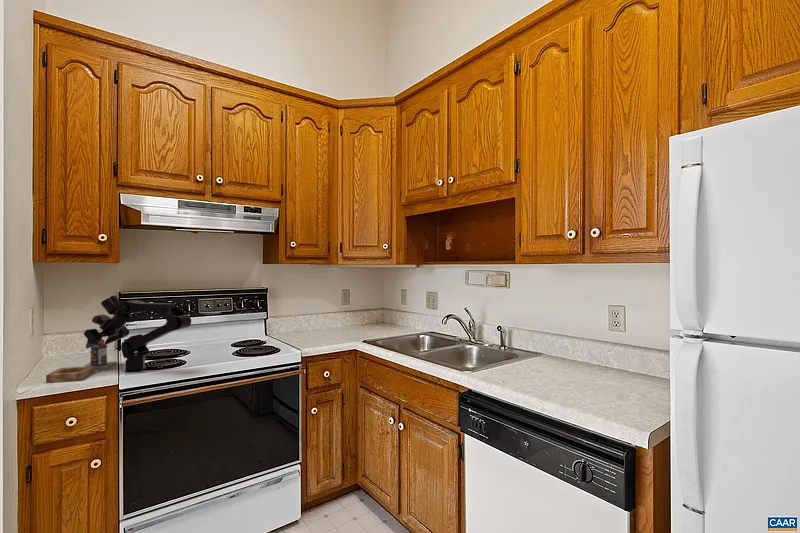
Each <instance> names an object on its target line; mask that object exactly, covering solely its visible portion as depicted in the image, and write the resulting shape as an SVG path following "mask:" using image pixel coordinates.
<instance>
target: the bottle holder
mask: <svg viewBox="0 0 800 533" xmlns="http://www.w3.org/2000/svg"><path fill="white" fill-rule="evenodd" d="M93 373H94V374H95V373H96V371H95V366H86V367H83V366H71V367H60V368H58V369H56V370H54V371H51V372H50V373H47V374H45V383H46V384H48V383H49V384H50V383H52V384H53V383H65V382H66V383H67V382H69V383H70V382H81V381H85V380H86V379H88V378H89V377H91V376H93V375H94V374H93ZM92 374H93V375H92ZM90 375H91V376H90ZM87 377H88V378H87Z"/></svg>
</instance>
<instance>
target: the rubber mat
mask: <svg viewBox="0 0 800 533" xmlns="http://www.w3.org/2000/svg"><path fill="white" fill-rule="evenodd" d="M117 365H118V361H107V364H106V365H103V366H95V370H99V371H109V370H111V369H112V368H113V366H114V367H115V366H117ZM86 366H91V362H89V363H86V364H85V365H83V366H82V367H86ZM110 368H111V369H110ZM108 369H109V370H108Z"/></svg>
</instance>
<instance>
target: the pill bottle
mask: <svg viewBox="0 0 800 533" xmlns="http://www.w3.org/2000/svg"><path fill="white" fill-rule="evenodd" d="M107 362H108V344H107V345H106V344H105V339H103V338H102V340H101V341H99V343H97V344H96V345H94V346H92V347H90V363H91V366H103V365H106V364H107Z"/></svg>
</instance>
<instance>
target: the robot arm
mask: <svg viewBox="0 0 800 533" xmlns="http://www.w3.org/2000/svg"><path fill="white" fill-rule="evenodd" d="M100 305H101V307H102V308H103V309H104V310H105V312H107V313H108V315H106V314H97V315H94V316H93V317H92V319H91V322H92V323H93V324H95V325H98V326H99V327H98V328H99V329H100V330H101V331H99V330H98V329H97V328H89V329H86V330H85V331H84V332H83V336H84V337H85V338H86V340H87V341H86V344H85V349H91V347H92V346H94V345H96V344H97V343H99V341H101V340H102V339H103V338H106V337H107V339H106V340H104V344H106V345H107V346H108V345H109V344H112V343H113V342H116V341H118V340H121V339H123V341H122V342H121V344H120V345H121V346H120V349H121V353H122V356H123V359H126V360H125V362H124V366H125V371H124V373H130V372H135V373H137V372H143V371H144V370H146V369H147V366H146V355H149V353H150V349H149V348H148V347H147V346H148V344H150V343H152V342H155V340H158V339H161V338H162V337H164V336H166V335H168V334H170V333H172V332H175V331H179V330H182V329H187V328H189V327H190V326H191V325H192V318H191V317H190V316H189V315H188V314H187V313H186V312H185V311H184V310H183V309H181V308H179V307H178V306H177V305H176V304H175V303H172V302H167V303H163V302H160V303H159V302H156V303H155V302H144V301H143V300H137V299H135V300H134V299H132V300H125V301H122V302H121V301H120V300H119V298H118V297H117V295H111V296H110V297H107V298H105V299H104V300H102V301H101V303H100ZM138 313H162V314H163V316H164V318H165V321H166V323H164V324H163V325H161V326H159V327H156V328H155V329H153V330H150V331H149V332H147V333H145V334H143V333H140V334H135V335H131V336H129V335H130V330H129V329H128V327H126V324H127V323H128V324H130V323H134V322H135V319H134V315H132V314H138ZM109 315H113V316H112V317H110V316H109ZM128 336H129V337H128ZM125 337H126V338H125ZM127 337H128V338H127ZM124 338H125V339H124Z"/></svg>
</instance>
